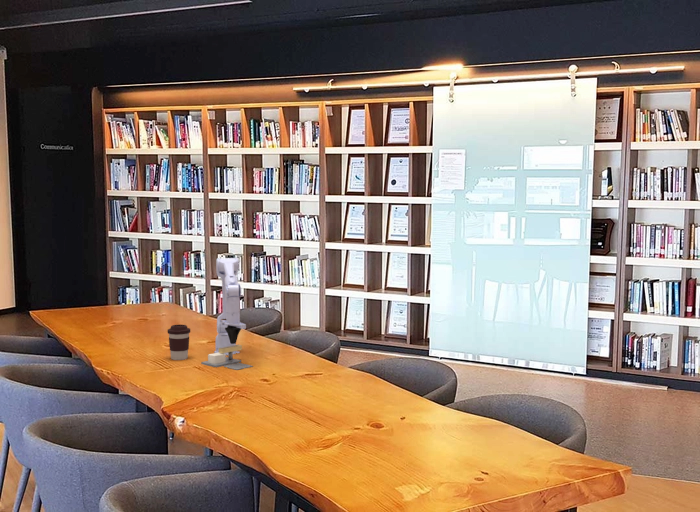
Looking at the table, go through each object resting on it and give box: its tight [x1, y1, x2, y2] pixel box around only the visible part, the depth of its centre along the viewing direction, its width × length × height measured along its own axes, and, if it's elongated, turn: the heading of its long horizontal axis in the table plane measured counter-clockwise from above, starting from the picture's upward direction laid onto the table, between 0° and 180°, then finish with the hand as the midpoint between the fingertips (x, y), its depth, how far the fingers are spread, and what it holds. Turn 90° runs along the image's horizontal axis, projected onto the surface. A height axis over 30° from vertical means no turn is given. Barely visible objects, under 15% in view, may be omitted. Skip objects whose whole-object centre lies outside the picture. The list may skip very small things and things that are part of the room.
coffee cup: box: [167, 324, 191, 361], centre depth 342 cm, size 10×10×15 cm
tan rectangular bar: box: [219, 344, 243, 353], centre depth 337 cm, size 2×11×2 cm, turn 138°
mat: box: [223, 362, 254, 371], centre depth 328 cm, size 9×9×1 cm
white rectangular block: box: [207, 352, 227, 364], centre depth 332 cm, size 4×6×4 cm
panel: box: [201, 352, 242, 368], centre depth 333 cm, size 10×14×5 cm
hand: (233, 343), depth 331 cm, fingers closed
